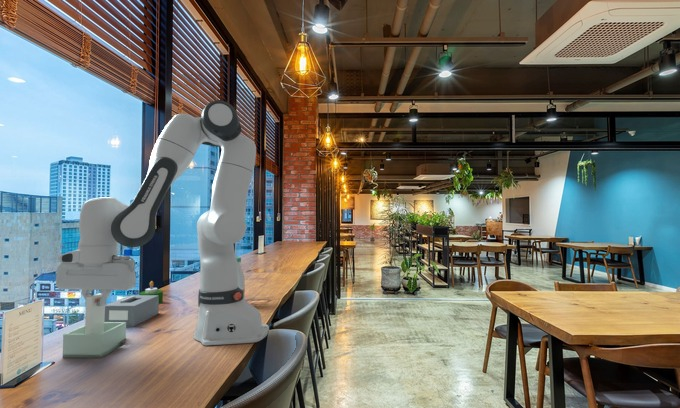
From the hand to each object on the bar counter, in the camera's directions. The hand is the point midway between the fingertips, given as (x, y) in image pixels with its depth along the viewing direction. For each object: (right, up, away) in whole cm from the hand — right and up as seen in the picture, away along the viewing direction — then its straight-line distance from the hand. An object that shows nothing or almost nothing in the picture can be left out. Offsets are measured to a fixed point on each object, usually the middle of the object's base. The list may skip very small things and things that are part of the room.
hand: (95, 305), depth 92 cm
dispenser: (-3, -13, +22) cm, 26 cm away
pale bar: (0, -8, 0) cm, 8 cm away
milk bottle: (+25, -14, +42) cm, 51 cm away
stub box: (0, -12, 0) cm, 12 cm away
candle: (-10, -14, +45) cm, 48 cm away
